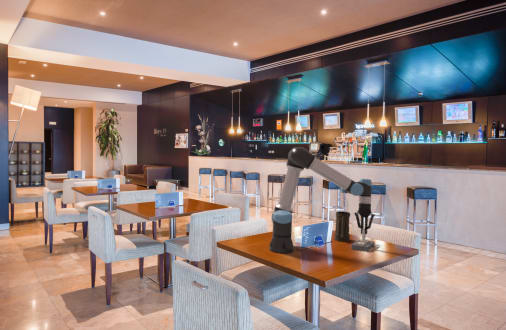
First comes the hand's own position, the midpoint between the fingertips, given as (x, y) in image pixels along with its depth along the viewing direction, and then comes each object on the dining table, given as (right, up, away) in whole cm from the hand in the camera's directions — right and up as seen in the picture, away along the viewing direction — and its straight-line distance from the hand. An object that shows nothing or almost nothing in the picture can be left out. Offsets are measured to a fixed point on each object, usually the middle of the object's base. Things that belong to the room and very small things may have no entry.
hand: (363, 239), depth 228 cm
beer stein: (-9, -5, +18) cm, 21 cm away
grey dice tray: (0, -6, 0) cm, 6 cm away
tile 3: (+3, -4, +5) cm, 7 cm away
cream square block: (0, -3, 0) cm, 3 cm away
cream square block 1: (-3, -4, -5) cm, 7 cm away
